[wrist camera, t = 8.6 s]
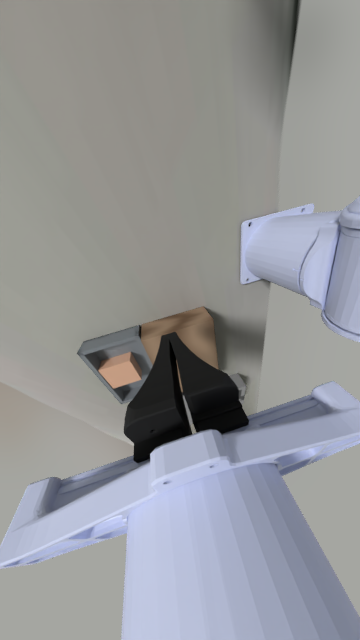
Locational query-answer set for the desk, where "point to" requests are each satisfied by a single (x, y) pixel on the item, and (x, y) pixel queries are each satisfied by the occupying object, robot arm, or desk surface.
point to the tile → (120, 370)
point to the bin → (115, 346)
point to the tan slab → (183, 334)
